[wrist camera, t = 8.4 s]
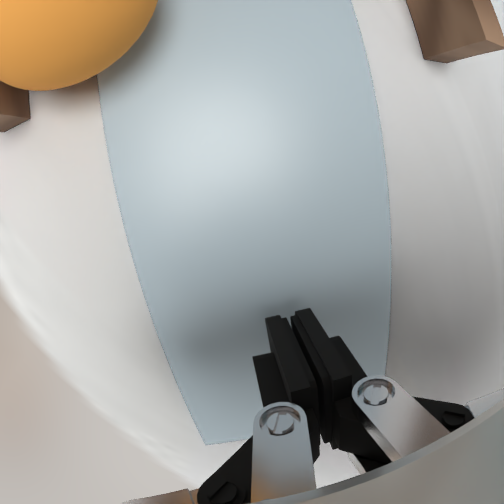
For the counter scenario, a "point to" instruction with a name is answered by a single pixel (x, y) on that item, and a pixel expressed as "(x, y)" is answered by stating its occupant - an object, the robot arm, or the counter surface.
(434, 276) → the counter surface
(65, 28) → the ball
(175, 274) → the lane
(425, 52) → the fence
